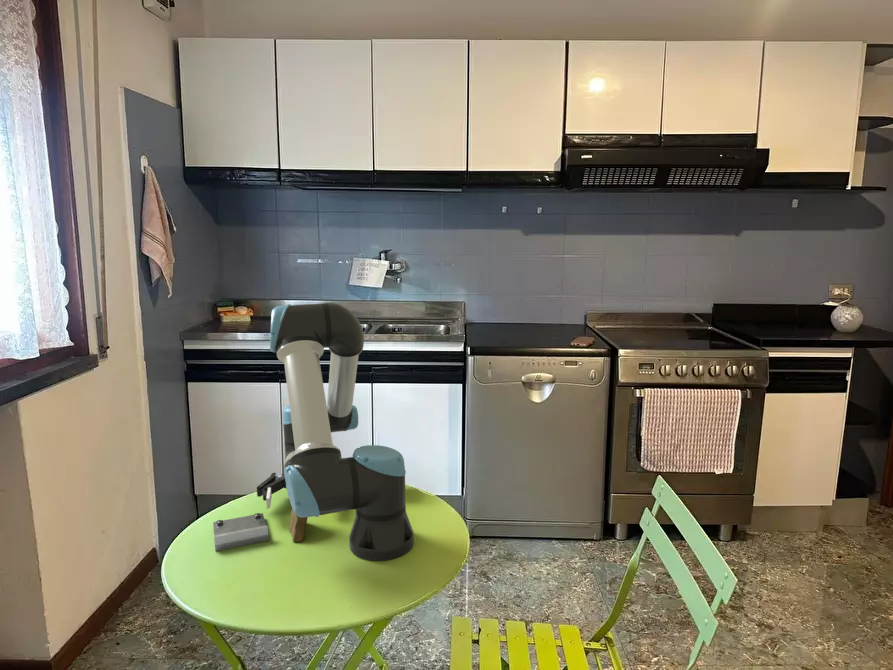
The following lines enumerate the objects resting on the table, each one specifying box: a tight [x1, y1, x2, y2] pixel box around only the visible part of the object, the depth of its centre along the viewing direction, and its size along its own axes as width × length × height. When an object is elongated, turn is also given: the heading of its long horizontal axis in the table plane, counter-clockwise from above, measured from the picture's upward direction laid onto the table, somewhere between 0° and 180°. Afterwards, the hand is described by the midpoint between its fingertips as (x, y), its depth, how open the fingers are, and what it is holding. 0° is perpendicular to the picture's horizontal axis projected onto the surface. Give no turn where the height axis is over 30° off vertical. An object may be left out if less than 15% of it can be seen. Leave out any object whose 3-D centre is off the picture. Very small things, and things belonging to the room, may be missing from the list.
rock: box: [288, 508, 309, 542], centre depth 148 cm, size 11×9×10 cm
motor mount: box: [212, 512, 270, 552], centre depth 147 cm, size 12×12×4 cm
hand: (295, 500), depth 152 cm, fingers open, 13 cm apart
